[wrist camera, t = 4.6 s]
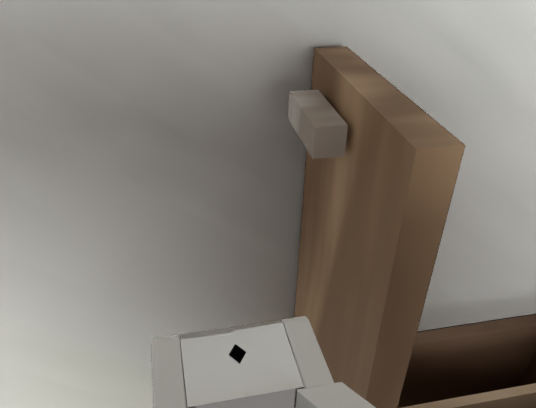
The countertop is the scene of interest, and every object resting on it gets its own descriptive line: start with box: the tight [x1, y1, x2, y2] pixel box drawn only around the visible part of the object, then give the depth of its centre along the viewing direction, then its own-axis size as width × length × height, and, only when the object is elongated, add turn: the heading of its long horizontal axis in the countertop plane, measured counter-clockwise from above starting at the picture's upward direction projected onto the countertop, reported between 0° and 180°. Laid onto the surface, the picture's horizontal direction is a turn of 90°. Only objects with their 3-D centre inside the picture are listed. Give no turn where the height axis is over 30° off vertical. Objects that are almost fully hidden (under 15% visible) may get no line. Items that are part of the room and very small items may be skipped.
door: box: [288, 47, 465, 408], centre depth 19 cm, size 2×16×8 cm, turn 179°
